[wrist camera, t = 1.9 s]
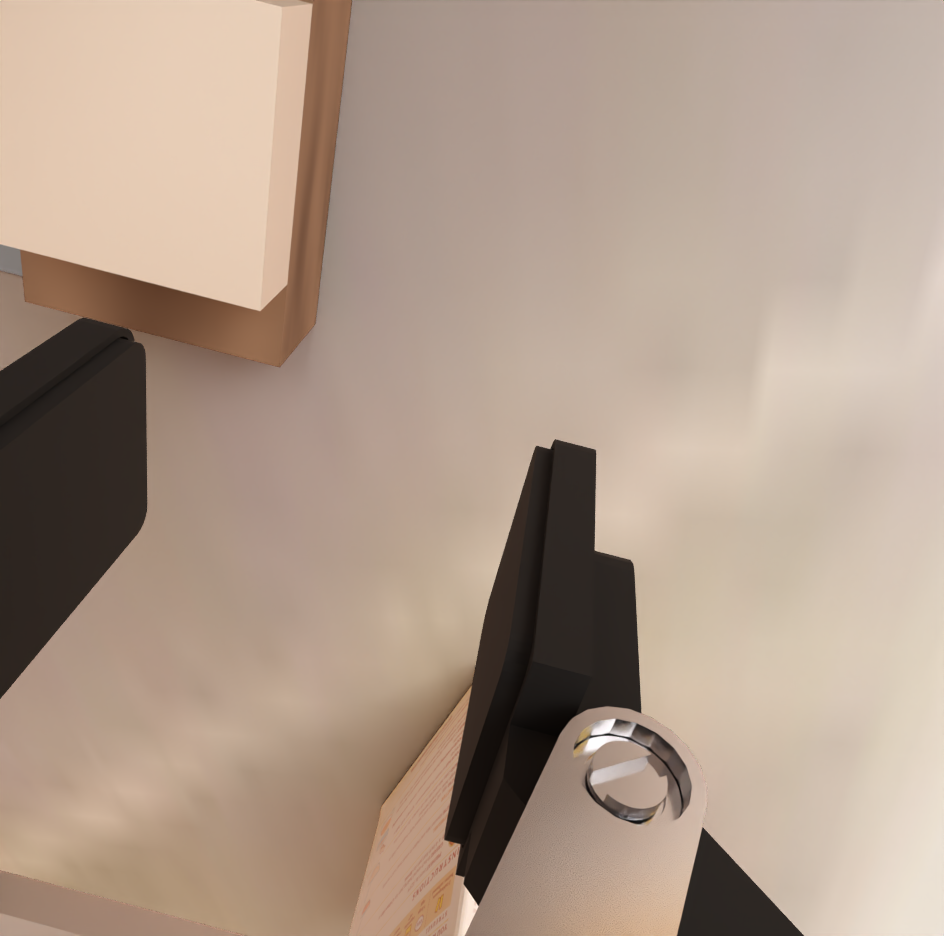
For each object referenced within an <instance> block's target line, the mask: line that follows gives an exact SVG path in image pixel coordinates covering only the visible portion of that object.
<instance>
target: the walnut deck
mask: <svg viewBox="0 0 944 936" xmlns="http://www.w3.org/2000/svg"><path fill="white" fill-rule="evenodd" d="M300 1H303V2H307V3H311V4H313V5H312V16H311V27H310V38H309V49H308V60H307V71H306V82H305V93H304V105H303V116H302V127H301V138H300V149H299V160H298V171H297V182H296V193H295V204H294V215H293V226H292V237H291V248H290V259H289V270H288V281H287V285H286V286H285V287H284V288H283V289H282V290H281V291H280V292H279V293H278V294H277V295H276V296H275V297H274V298H273V299H272V300H271V301H270V302H269V303H268V304H267V305H266V306H265V307H264V308H263V309H262V310H261V311H257V310H254V309H250V308H246V307H242V306H238V305H234V304H230V303H226V302H223V301H219V300H215V299H211V298H207V297H203V296H199V295H195V294H192V293H188V292H184V291H180V290H176V289H172V288H168V287H164V286H161V285H157V284H153V283H149V282H145V281H141V280H137V279H133V278H130V277H126V276H122V275H118V274H114V273H110V272H106V271H102V270H99V269H95V268H91V267H87V266H83V265H79V264H75V263H71V262H68V261H64V260H60V259H56V258H52V257H48V256H44V255H40V254H37V253H33V252H29V251H25V250H21V249H20V255H21V265H22V275H23V286H24V296H25V302H29V303H33V304H37V305H41V306H44V307H48V308H52V309H56V310H60V311H64V312H68V313H71V314H75V315H79V316H83V317H87V318H91V319H95V320H99V321H102V322H106V323H110V324H114V325H118V326H122V327H126V328H130V329H133V330H137V331H141V332H145V333H149V334H153V335H157V336H161V337H164V338H168V339H172V340H176V341H180V342H184V343H188V344H191V345H195V346H199V347H203V348H207V349H211V350H215V351H219V352H222V353H226V354H230V355H234V356H238V357H242V358H246V359H250V360H253V361H257V362H261V363H265V364H269V365H273V366H277V367H280V366H281V365H282V364H283V363H284V361H285V360H286V359H287V358H288V357H289V355H290V354H291V353H292V352H293V351H294V349H295V348H296V347H297V346H298V344H299V343H300V342H301V341H302V340H303V338H304V337H305V336H306V335H307V334H308V332H309V331H310V330H311V329H312V327H313V326H314V325H315V322H316V313H317V304H318V296H319V287H320V278H321V269H322V260H323V252H324V243H325V234H326V225H327V216H328V208H329V199H330V190H331V181H332V172H333V164H334V155H335V146H336V137H337V128H338V120H339V111H340V102H341V93H342V84H343V76H344V67H345V58H346V49H347V40H348V32H349V23H350V14H351V5H352V0H300Z"/></svg>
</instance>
